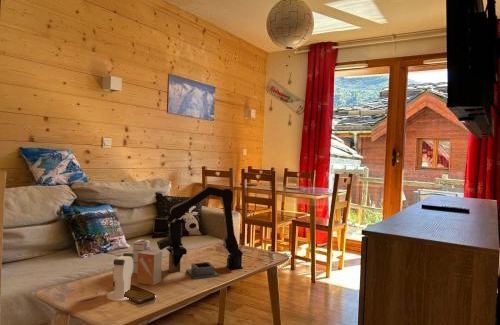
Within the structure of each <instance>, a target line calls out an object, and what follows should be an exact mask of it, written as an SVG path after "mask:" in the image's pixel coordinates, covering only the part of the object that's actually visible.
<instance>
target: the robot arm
mask: <svg viewBox="0 0 500 325" xmlns="http://www.w3.org/2000/svg"><path fill="white" fill-rule="evenodd" d="M209 196H213V197H214V196H215V197H217V198H219V200H220V202H221V205H222V209H223V210H222V211H223V221H224V227H225V228H224V229H225V237H222V242H223V244H222V246H223V247H224V249H225V250H226V251H227V252H228V255H227V258H226V265H225V266H226V267H227V268H228V269H230V270H240V269H243V268H244V266H242V263H243V261H242V260H243V254H244V253H243V252H242V250H240V248H239V243H238V240H237V237H236V235H235V228H234V219H233V208H232V206H233V199H234V192H233V190H232V189H231V188H228V187H222V188H218V187H213V186H210V185H209V186H206V187H204V188H203V189H202V190H200V191H198V192H197V193H195V194H194V195H193V196H191V197H190V198H187V200H185V201H182V202H179V203H176V204H175V205H173V206H172V207H171V208H170V209H169V213H168V215H166V216H165V218H162V217H161V218H158V217H155V218H154V221H153V222H154V223H153V233H154V234H165V233H167V232H169V233H168V234H167V237H165V238H162V239H160V240H157V241H156V245H157V247H158V249H159V251H160V250H161V251H162V250H164V249H165V248H166V251H167V252H169V253H171V254H172V255H173V258H174V266H175V267H177V266H178V264H179V262H180V263H181V260H182V258H183V256H184V255H187V252H188V250H187V248H186V247H184V246H183V244H184V243H182V241H183V240H182V238H184V235H183V234H182V233H183V224H186V223H187V221H186V220H185V219H184V217H183V216H184V215H185V214H186V213H188V211H189V210H190V209H191V208H193V207H194V206H196V205H197V204H199V203H200V202H202V201H203V200H204V199H206V198H208V197H209Z"/></svg>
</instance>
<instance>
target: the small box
mask: <svg viewBox="0 0 500 325" xmlns="http://www.w3.org/2000/svg"><path fill="white" fill-rule="evenodd" d="M162 258H163V251H162V250H161V251H160V250H159V251H158V250H155V249H154V250H152V249H150V250H144V251H141V252H139V253H138V270H137V275H136V276H137V277H136V283H137V284H144V285H149V286H155V285H156V284H159V283H160V282H162V262H163V260H162Z"/></svg>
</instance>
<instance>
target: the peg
mask: <svg viewBox="0 0 500 325" xmlns="http://www.w3.org/2000/svg"><path fill="white" fill-rule="evenodd" d="M168 271H169V272H170V273H177V272H178V273H179V272H181V261H180V262H179V264H178V266H177V267H175V266H174V258H173V255H172V254H171V253H170V252H169V253H168Z"/></svg>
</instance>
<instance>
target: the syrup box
mask: <svg viewBox="0 0 500 325" xmlns="http://www.w3.org/2000/svg"><path fill="white" fill-rule="evenodd" d="M150 247H151V241H150V240H148V239H138V240H136V241H132V253H133V256H134V257H133V272H132V274H137V270H138V253H139V252H141V251H144V250H151V248H150Z"/></svg>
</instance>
